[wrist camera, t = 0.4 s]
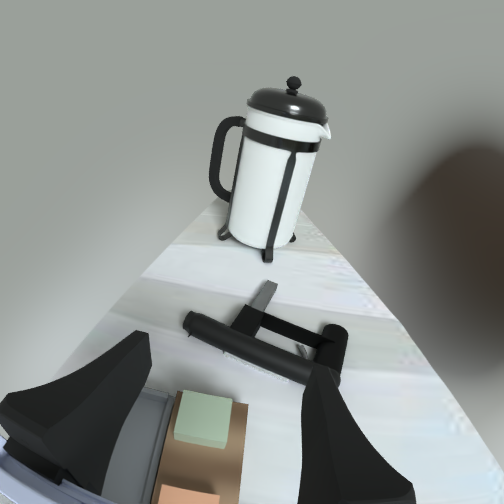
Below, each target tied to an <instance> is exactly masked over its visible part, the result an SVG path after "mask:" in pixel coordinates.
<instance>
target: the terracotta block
mask: <svg viewBox="0 0 504 504" xmlns="http://www.w3.org/2000/svg"><path fill="white" fill-rule="evenodd" d="M219 498H220V495H214V494H208V493H202V492H196V491H191V490H186V489H181V488H176V487H172V486H168V485H164V484H162V487H161V492H160V496H159V501H158V504H219Z"/></svg>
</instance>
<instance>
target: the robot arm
mask: <svg viewBox="0 0 504 504" xmlns="http://www.w3.org/2000/svg"><path fill="white" fill-rule="evenodd" d="M151 367H152V360H151V352H150V343H149V334H148V333H146V332H142V331H138V330H136V331H134V332H133V333H131V334H130V335H129V336H127V337H126V338H125V339H123V340H122V341H121V342H119V343H118V344H117V345H115V346H114V347H113V348H111V349H110V350H108V351H107V352H106V353H104V354H103V355H101V356H100V357H98V358H97V359H95V360H94V361H92V362H91V363H89V364H87V365H86V366H84V367H82V368H81V369H79V370H77V371H75V372H73V373H71V374H69V375H67V376H65V377H63V378H60V379H58V380H55V381H53V382H50V383H48V384H45V385H42V386H38V387H35V388H31V389H27V390H23V391H18V392H12V393H8V394H7V395H6V397H5V398H4V399H3V401H2V402H1V403H0V424H1V426H2V427H3V428H4V429H5V431H6V432H7V433H8V435H9V436H10V437H9V439H8V440H6V439H5V438H4V437H2V436H1V435H0V492H1V493H2V494H3V495H5V496H6V497H7V498H9V499H10V500H11V501H13V502H14V503H16V504H117V503H114V502H112V501H110V500H107V499H105V498H102V497H100V496H101V494H102V489H103V485H104V481H105V477H106V473H107V470H108V466H109V463H110V460H111V456H112V453H113V450H114V447H115V445H116V442H117V439H118V436H119V434H120V431H121V429H122V426H123V424H124V422H125V420H126V418H127V416H128V414H129V412H130V411H131V409H132V407H133V405H134V403H135V401H136V400H137V398H138V396H139V394H140V392H141V390H142V389H143V387H144V385H145V383H146V380H147V377H148V375H149V372H150V369H151ZM301 430H302V471H301V480H300V489H299V496H298V503H297V504H416V497H415V491H414V488H413V484H412V483H411V482H410V481H408V480H407V479H406V478H405V477H403V476H402V475H401V474H400V473H398V472H397V471H396V470H395V469H394V468H393V467H392V466H391V465H390V464H389V463H387V461H386V460H385V459H384V458H383V457H382V456H381V455H380V454H379V453H378V452H377V451H376V449H375V448H374V447H373V446H372V445H371V443H370V442H369V441H368V439H367V438H366V437H365V435H364V434H363V432H362V431H361V430H360V428H359V426H358V425H357V423H356V422H355V420H354V418H353V417H352V415H351V413H350V411H349V410H348V408H347V406H346V404H345V402H344V400H343V398H342V396H341V394H340V392H339V390H338V388H337V385H336V383H335V381H334V378H333V376H332V374H331V371H330V368H329V367H328V366H322V365H314V366H313V369H312V371H311V374H310V377H309V379H308V382H307V385H306V387H305V390H304V393H303V398H302V410H301Z"/></svg>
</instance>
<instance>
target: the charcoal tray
mask: <svg viewBox="0 0 504 504" xmlns="http://www.w3.org/2000/svg"><path fill="white" fill-rule="evenodd" d="M174 403H175V397H173V396H169V393H166V392H162V391H158V390H154V389H150V388H146V387H143V389H142V390H141V392H140V394H139V396H138V398H137V400H136V401H135V403H134V405H133V407H132V409H131V411H130V412H129V414H128V416H127V418H126V420H125V422H124V424H123V426H122V429H121V431H120V434H119V436H118V439H117V442H116V445H115V447H114V450H113V453H112V456H111V460H110V463H109V466H108V470H107V473H106V477H105V481H104V485H103V489H102V494H101V496H100V497H102V498H105V499H107V500H110V501H112V502H114V503H117V504H151V501H152V497H153V492H154V487H155V483H156V478H157V474H158V469H159V465H160V461H161V456H162V452H163V448H164V444H165V439H166V435H167V431H168V427H169V423H170V419H171V415H172V411H173V407H174Z"/></svg>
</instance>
